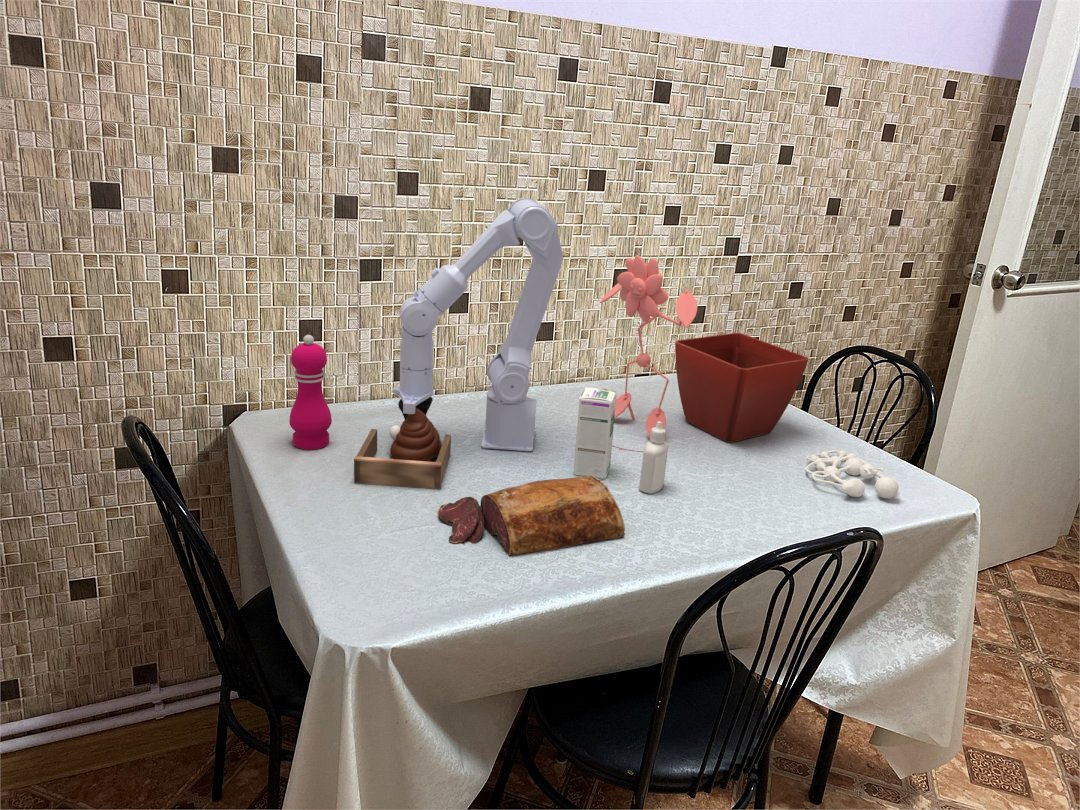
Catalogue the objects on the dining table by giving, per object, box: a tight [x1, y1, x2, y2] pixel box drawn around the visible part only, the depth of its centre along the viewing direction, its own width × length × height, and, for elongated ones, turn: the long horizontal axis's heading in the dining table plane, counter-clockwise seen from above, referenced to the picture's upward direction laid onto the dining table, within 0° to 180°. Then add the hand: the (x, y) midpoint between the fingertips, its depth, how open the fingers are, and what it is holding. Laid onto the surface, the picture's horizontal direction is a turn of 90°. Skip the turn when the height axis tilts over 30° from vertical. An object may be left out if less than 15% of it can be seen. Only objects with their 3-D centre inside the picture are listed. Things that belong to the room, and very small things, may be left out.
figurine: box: [599, 254, 699, 453], centre depth 159 cm, size 15×26×35 cm, turn 36°
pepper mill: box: [289, 334, 333, 451], centre depth 147 cm, size 7×7×20 cm
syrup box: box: [573, 387, 617, 480], centre depth 145 cm, size 6×6×14 cm
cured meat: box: [437, 476, 626, 556], centre depth 127 cm, size 18×25×7 cm
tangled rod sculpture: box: [804, 449, 900, 499], centre depth 152 cm, size 19×14×4 cm
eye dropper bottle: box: [638, 421, 669, 495], centre depth 141 cm, size 4×6×12 cm
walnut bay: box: [353, 428, 452, 490], centre depth 143 cm, size 14×14×4 cm
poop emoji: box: [389, 408, 443, 462], centre depth 147 cm, size 10×8×9 cm
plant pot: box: [674, 332, 809, 443], centre depth 169 cm, size 19×19×17 cm
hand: (414, 437), depth 153 cm, fingers closed
